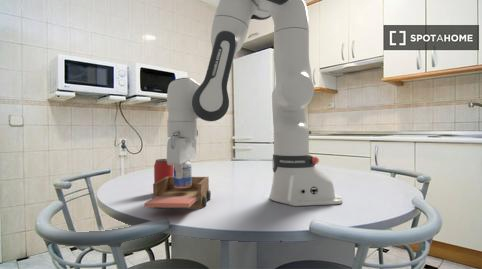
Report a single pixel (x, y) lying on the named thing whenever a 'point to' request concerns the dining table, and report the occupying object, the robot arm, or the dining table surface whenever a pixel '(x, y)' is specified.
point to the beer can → (162, 170)
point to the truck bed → (184, 190)
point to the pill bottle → (184, 176)
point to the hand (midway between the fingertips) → (182, 176)
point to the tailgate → (171, 201)
